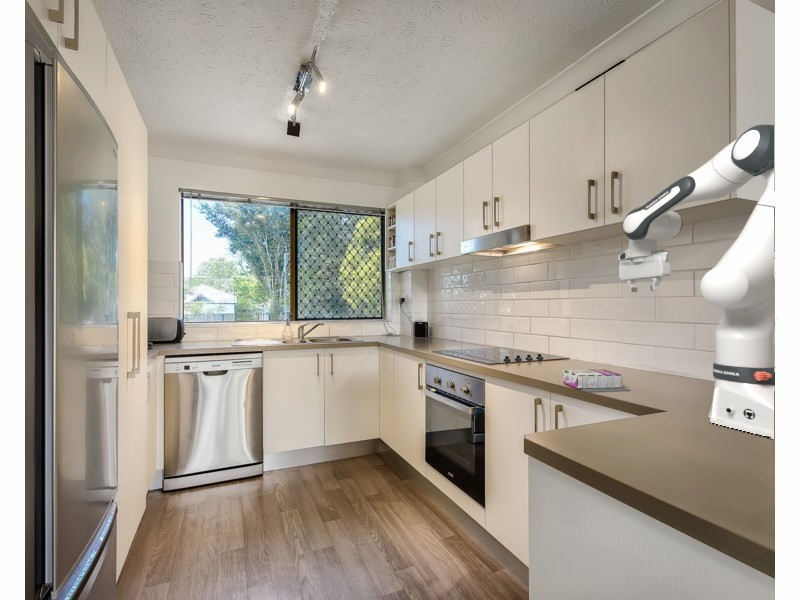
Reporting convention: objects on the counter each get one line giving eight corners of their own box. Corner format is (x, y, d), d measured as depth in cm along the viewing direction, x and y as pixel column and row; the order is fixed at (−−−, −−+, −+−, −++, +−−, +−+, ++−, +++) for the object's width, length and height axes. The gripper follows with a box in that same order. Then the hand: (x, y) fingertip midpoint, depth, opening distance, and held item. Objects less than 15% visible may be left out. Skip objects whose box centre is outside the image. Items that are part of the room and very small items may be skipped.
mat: (630, 390, 135) (630, 389, 135) (589, 392, 133) (589, 391, 133) (603, 383, 149) (603, 382, 149) (565, 384, 146) (565, 383, 146)
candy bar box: (604, 382, 149) (562, 382, 148) (604, 369, 149) (562, 369, 148) (622, 388, 137) (576, 389, 137) (622, 374, 137) (576, 374, 137)
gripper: (675, 248, 131) (676, 289, 131) (629, 257, 152) (630, 292, 151) (658, 248, 130) (660, 289, 130) (614, 256, 151) (615, 292, 150)
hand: (643, 291), depth 141 cm, fingers open, 8 cm apart
